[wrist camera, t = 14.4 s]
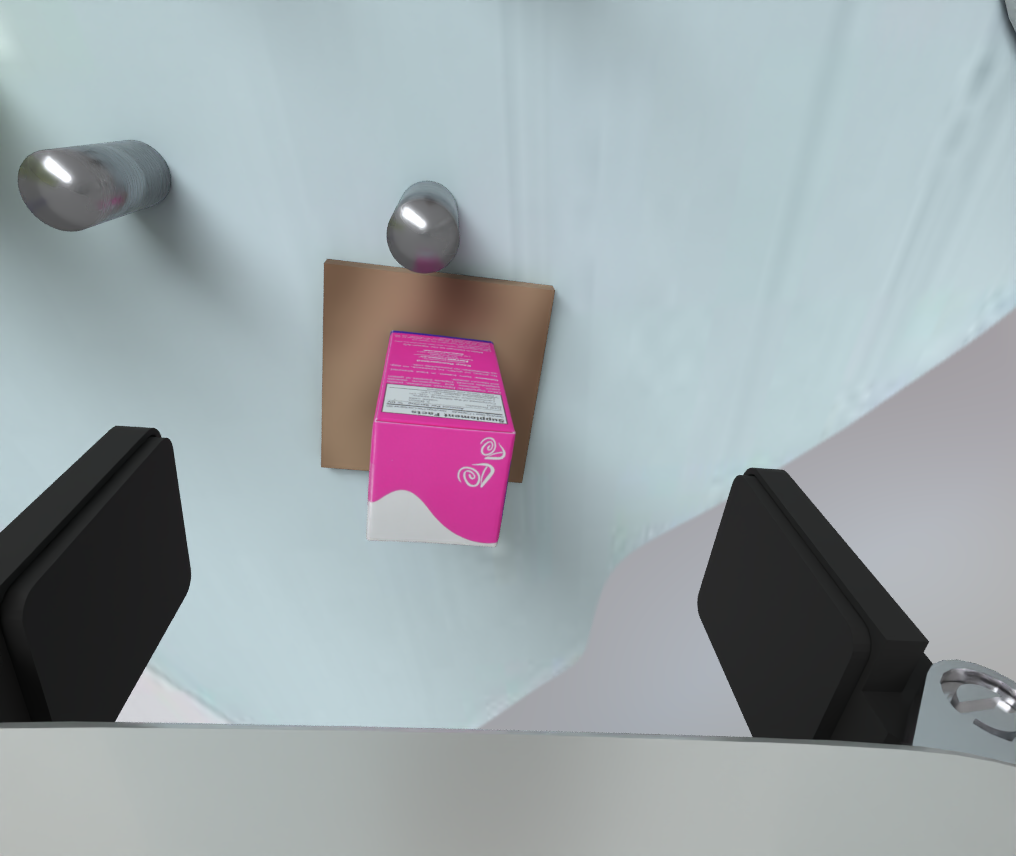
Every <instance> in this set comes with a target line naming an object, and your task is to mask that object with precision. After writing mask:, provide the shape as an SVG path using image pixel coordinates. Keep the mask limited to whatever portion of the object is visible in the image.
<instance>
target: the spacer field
mask: <svg viewBox="0 0 1016 856" xmlns="http://www.w3.org/2000/svg"><path fill="white" fill-rule="evenodd" d="M170 185H171V177H170V172H169V169H168V166H167V164H166V162H165V161H164V159H163V158H162V156H161V155H160V154H159V153H158V152H157V151H156V150H155V149H153V148H152V147H151V146H149V145H147V144H145V143H143V142H140V141H135V140H124V141H116V142H107V143H98V144H90V145H81V146H73V147H64V148H56V149H47V150H41V151H37V152H34V153H32V154H31V155H29V156H28V157H27V158H26V159H25V160H24V161H23V163H22V164H21V166H20V169H19V173H18V187H19V191H20V194H21V196H22V198H23V200H24V202H25V204H26V205H27V207H28V208H29V209H30V211H31V212H32V213H33V214H34V215H35V216H36V217H37V218H38V219H40V220H41V221H42V222H44V223H45V224H47V225H49V226H51V227H53V228H56V229H59V230H63V231H80V230H83V229H86V228H89V227H92V226H95V225H98V224H101V223H104V222H106V221H109V220H112V219H115V218H118V217H121V216H124V215H127V214H130V213H132V212H135V211H138V210H141V209H144V208H147V207H150V206H153V205H155V204H158V203H159V202H161V201H162V200H163V199H164V198H165V197H166V196H167V194H168V192H169V189H170ZM387 243H388V246H389V249H390V252H391V253H392V255H393V257H394V258H395V259H396V261H397V262H398V263H399V264H401V265H402V266H403V267H405V268H406V269H408V270H410V271H413V272H416V273H433V272H436V271H439V270H441V269H443V268H444V267H446V266H447V265H448V264H449V263H450V262H451V261H452V259H453V258H454V256H455V254H456V252H457V250H458V246H459V224H458V209H457V204H456V201H455V199H454V197H453V195H452V194H451V192H450V191H449V190H448V189H447V188H446V187H444V186H443V185H441V184H439V183H436V182H432V181H422V182H418V183H415V184H413V185H412V186H410V187H409V188H408V189H407V190H406V191H405V192H404V194H403V196H402V197H401V199H400V201H399V203H398V205H397V207H396V209H395V211H394V213H393V215H392V217H391V219H390V221H389V223H388V227H387Z"/></svg>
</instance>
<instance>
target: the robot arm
mask: <svg viewBox="0 0 1016 856" xmlns="http://www.w3.org/2000/svg"><path fill="white" fill-rule="evenodd" d="M1005 3H1006V7H1007V12H1008V16H1009V19H1010V21H1011V23H1012V25H1013V27H1014V30H1015V32H1016V0H1005ZM190 581H191V568H190V561H189V554H188V548H187V541H186V534H185V527H184V520H183V513H182V506H181V499H180V493H179V486H178V479H177V472H176V465H175V458H174V451H173V446H172V443H171V441H170V439H168V438H161V435H160V433H159V431H158V430H157V429H155V428H144V427H129V426H115V427H113V428H111V429H110V430H109V431H108V432H107V433H106V434H105V435H104V436H103V437H102V438H101V439H100V440H99V441H98V442H96V443H95V444H94V445H93V446H92V447H91V448H90V449H89V450H88V451H87V452H86V453H85V454H84V455H83V456H82V457H80V458H79V459H78V460H77V461H76V462H75V463H74V464H73V465H72V466H71V467H70V468H69V469H68V470H67V471H66V472H64V473H63V474H62V475H61V476H60V477H59V478H58V479H57V480H56V481H55V482H54V483H53V484H52V485H51V486H50V487H48V488H47V489H46V490H45V491H44V492H43V493H42V494H41V495H40V496H39V497H38V498H37V499H36V500H35V501H34V502H32V503H31V504H30V505H29V506H28V507H27V508H26V509H25V510H24V511H23V512H22V513H21V514H20V515H19V516H18V517H16V518H15V519H14V520H13V521H12V522H11V523H10V524H9V525H8V526H7V527H6V528H5V529H4V530H3V531H2V532H0V856H1016V683H1015V682H1014V681H1012V680H1011V679H1009V678H1007V677H1005V676H1003V675H1001V674H999V673H998V672H996V671H994V670H991V669H988V668H986V667H983V666H981V665H978V664H975V663H971V662H965V661H961V660H942V661H939V662H937V663H935V664H932V662H931V661H930V660H929V659H928V657H927V656H926V655H925V654H924V650H925V648H926V647H927V644H928V643H929V641H928V640H927V639H926V638H925V636H924V635H923V634H922V633H921V632H920V630H919V629H918V628H917V627H916V626H915V624H914V623H913V622H912V621H911V620H910V618H909V617H908V616H907V615H906V614H905V612H903V610H902V609H901V608H900V606H899V605H898V604H897V603H896V602H895V601H894V599H893V598H892V597H891V596H890V595H889V593H888V592H887V591H886V590H885V589H884V587H883V586H882V585H881V584H880V583H879V581H878V580H877V579H876V578H875V577H874V576H873V574H872V573H871V572H870V571H869V570H868V569H867V567H866V566H865V565H864V564H863V562H862V561H861V560H860V559H859V558H858V556H857V555H856V554H855V553H854V552H853V551H852V549H851V548H850V547H849V546H848V545H847V543H846V542H845V541H844V540H843V539H842V537H841V536H840V535H839V534H838V533H837V531H836V530H835V529H834V528H833V527H832V525H831V524H830V523H829V522H828V521H827V520H826V519H825V517H824V516H823V515H822V514H821V512H820V511H819V510H818V509H817V508H816V507H815V505H814V504H813V503H812V502H811V501H810V499H809V498H808V497H807V496H806V494H805V493H804V492H803V491H802V490H801V489H800V487H799V486H798V485H797V484H796V483H795V481H794V480H793V479H792V478H791V477H790V475H789V474H788V473H787V472H786V471H784V470H778V469H763V468H749V469H747V470H746V472H745V473H744V475H738V476H737V477H736V478H735V479H734V481H733V484H732V487H731V490H730V493H729V497H728V500H727V503H726V506H725V510H724V513H723V516H722V519H721V523H720V526H719V529H718V532H717V536H716V539H715V542H714V545H713V549H712V552H711V555H710V558H709V562H708V565H707V568H706V571H705V575H704V578H703V581H702V584H701V588H700V591H699V594H698V602H697V603H698V613H699V616H700V619H701V621H702V623H703V625H704V628H705V630H706V632H707V634H708V637H709V639H710V641H711V643H712V646H713V648H714V650H715V653H716V655H717V657H718V659H719V661H720V664H721V666H722V668H723V671H724V673H725V675H726V678H727V680H728V682H729V684H730V687H731V689H732V691H733V693H734V696H735V698H736V700H737V702H738V705H739V707H740V709H741V712H742V714H743V716H744V718H745V720H746V723H747V725H748V727H749V730H750V732H751V734H752V736H753V737H726V736H693V735H692V736H691V735H660V734H627V733H595V732H560V731H520V730H483V729H442V728H400V727H358V726H306V725H254V724H202V723H145V722H115V721H116V719H117V717H118V715H119V713H120V712H121V710H122V708H123V706H124V705H125V703H126V701H127V699H128V697H129V696H130V694H131V692H132V690H133V689H134V687H135V685H136V683H137V682H138V680H139V678H140V676H141V674H142V673H143V671H144V669H145V667H146V666H147V664H148V662H149V660H150V658H151V657H152V655H153V653H154V651H155V650H156V648H157V646H158V644H159V642H160V641H161V639H162V637H163V635H164V634H165V632H166V630H167V628H168V626H169V625H170V623H171V621H172V619H173V618H174V616H175V614H176V612H177V610H178V609H179V607H180V605H181V603H182V602H183V600H184V598H185V596H186V594H187V592H188V589H189V586H190Z"/></svg>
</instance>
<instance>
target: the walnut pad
mask: <svg viewBox="0 0 1016 856" xmlns="http://www.w3.org/2000/svg"><path fill="white" fill-rule="evenodd" d="M554 293H555V290H554V288H553V286H550V285H541V284H533V283H525V282H516V281H508V280H499V279H491V278H483V277H474V276H466V275H458V274H449V273H441V272H433V273H416V272H413V271H410V270H408V269H406V268H399V267H391V266H383V265H374V264H366V263H357V262H349V261H341V260H332V259H327V260H326V261H325V263H324V305H323V374H322V444H321V467H326V468H339V469H351V470H364V471H369V469H370V453H371V439H372V428H373V422H374V416H375V411H376V405H377V400H378V395H379V390H380V385H381V381H382V376H383V370H384V366H385V359H386V353H387V349H388V344H389V337H390V333H391V331H393V330H394V331H405V332H414V333H423V334H432V335H441V336H449V337H458V338H466V339H475V340H484V341H491V342H493V344H494V349H495V353H496V356H497V360H498V365H499V369H500V373H501V377H502V381H503V385H504V389H505V393H506V397H507V402H508V405H509V409H510V413H511V418H512V422H513V426H514V429H515V432H516V435H515V441H514V447H513V453H512V459H511V465H510V472H509V477H508V482H517V483H522V479H523V474H524V468H525V462H526V456H527V450H528V445H529V439H530V433H531V427H532V421H533V415H534V410H535V404H536V398H537V392H538V386H539V381H540V375H541V369H542V363H543V357H544V351H545V346H546V340H547V334H548V328H549V322H550V317H551V311H552V305H553V299H554Z"/></svg>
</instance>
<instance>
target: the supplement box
mask: <svg viewBox="0 0 1016 856" xmlns="http://www.w3.org/2000/svg"><path fill="white" fill-rule="evenodd" d="M515 435H516V432H515V429H514V426H513V422H512V418H511V413H510V409H509V405H508V402H507V397H506V393H505V389H504V385H503V381H502V377H501V373H500V369H499V365H498V360H497V356H496V353H495V349H494V344H493V342H491V341H484V340H475V339H466V338H458V337H449V336H441V335H432V334H423V333H414V332H405V331H394V330H393V331H391V333H390V337H389V344H388V349H387V353H386V359H385V366H384V370H383V376H382V381H381V385H380V390H379V395H378V400H377V405H376V411H375V416H374V422H373V428H372V439H371V453H370V469H369V488H368V510H367V530H366V538H367V540H370V541H398V542H423V543H440V544H455V545H471V546H487V547H496V545H497V543H498V538H499V533H500V526H501V521H502V515H503V509H504V503H505V497H506V490H507V484H508V477H509V472H510V465H511V459H512V453H513V447H514V441H515Z"/></svg>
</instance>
